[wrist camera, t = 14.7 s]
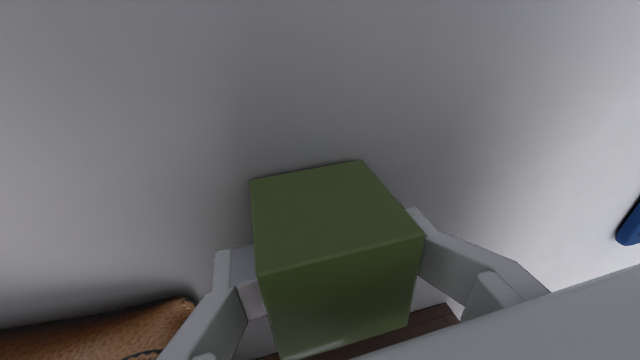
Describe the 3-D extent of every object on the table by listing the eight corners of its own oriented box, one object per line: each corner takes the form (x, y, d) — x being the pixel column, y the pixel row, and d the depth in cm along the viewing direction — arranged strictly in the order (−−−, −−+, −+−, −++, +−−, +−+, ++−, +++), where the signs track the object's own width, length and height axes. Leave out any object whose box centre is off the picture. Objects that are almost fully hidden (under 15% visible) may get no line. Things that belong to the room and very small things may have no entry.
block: (268, 261, 12) (281, 366, 8) (248, 179, 10) (254, 275, 6) (359, 239, 13) (407, 326, 9) (361, 158, 10) (427, 232, 7)
